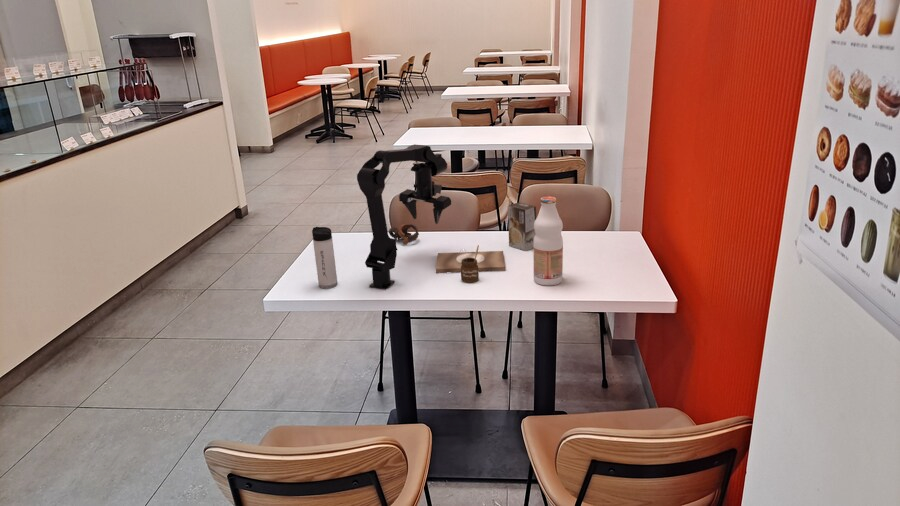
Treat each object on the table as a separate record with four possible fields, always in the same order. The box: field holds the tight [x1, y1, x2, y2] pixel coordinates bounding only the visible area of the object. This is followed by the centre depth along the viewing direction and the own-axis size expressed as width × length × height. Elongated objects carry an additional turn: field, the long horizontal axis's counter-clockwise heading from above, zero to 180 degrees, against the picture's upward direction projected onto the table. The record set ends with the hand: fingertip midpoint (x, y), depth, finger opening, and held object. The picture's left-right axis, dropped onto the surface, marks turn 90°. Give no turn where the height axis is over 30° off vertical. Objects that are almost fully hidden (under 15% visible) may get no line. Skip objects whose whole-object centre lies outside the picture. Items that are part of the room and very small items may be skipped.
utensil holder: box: [459, 244, 480, 284], centre depth 211 cm, size 6×6×12 cm
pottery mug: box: [388, 223, 420, 246], centre depth 252 cm, size 12×10×8 cm
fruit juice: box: [533, 196, 564, 286], centre depth 204 cm, size 9×9×28 cm
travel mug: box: [311, 226, 338, 289], centre depth 211 cm, size 6×7×20 cm
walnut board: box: [435, 250, 506, 274], centre depth 226 cm, size 24×16×2 cm, turn 88°
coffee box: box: [507, 201, 537, 252], centre depth 238 cm, size 9×6×16 cm
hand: (426, 221), depth 228 cm, fingers open, 9 cm apart
